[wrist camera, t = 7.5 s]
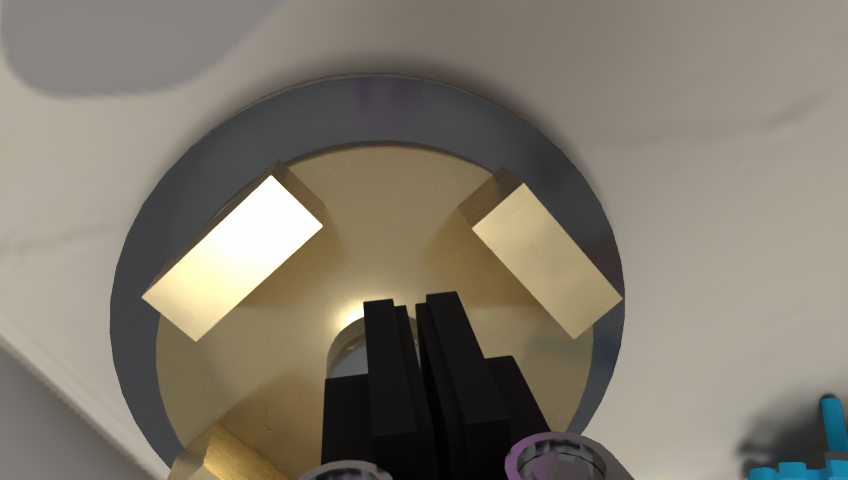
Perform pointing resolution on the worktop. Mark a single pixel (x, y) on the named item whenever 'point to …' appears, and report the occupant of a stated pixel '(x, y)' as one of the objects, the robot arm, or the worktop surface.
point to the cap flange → (321, 127)
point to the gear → (844, 463)
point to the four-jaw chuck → (357, 296)
